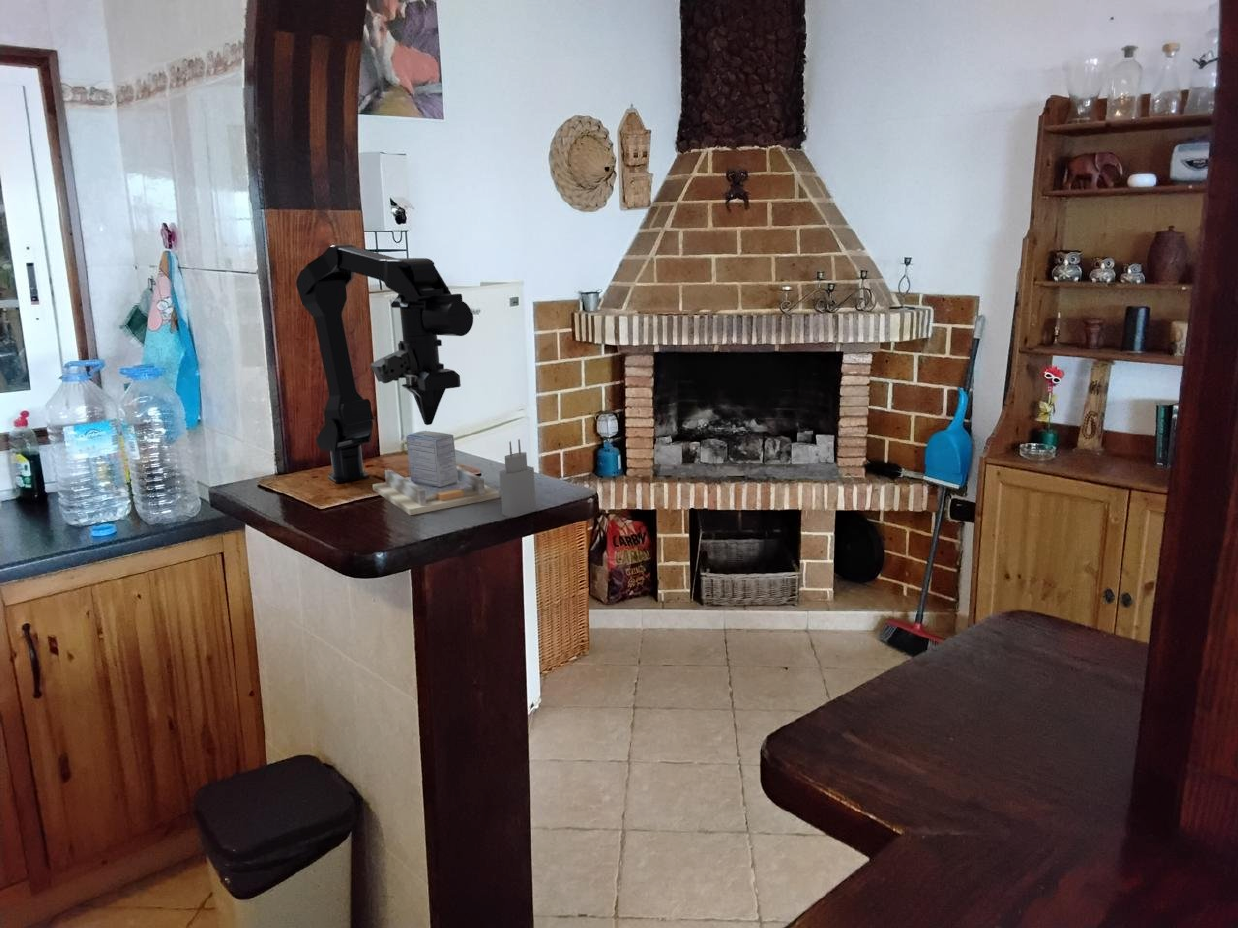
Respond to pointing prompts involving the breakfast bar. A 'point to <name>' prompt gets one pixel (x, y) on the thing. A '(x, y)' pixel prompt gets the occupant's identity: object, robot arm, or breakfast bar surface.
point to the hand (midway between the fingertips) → (428, 424)
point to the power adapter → (517, 485)
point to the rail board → (414, 496)
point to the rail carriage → (444, 490)
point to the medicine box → (432, 458)
